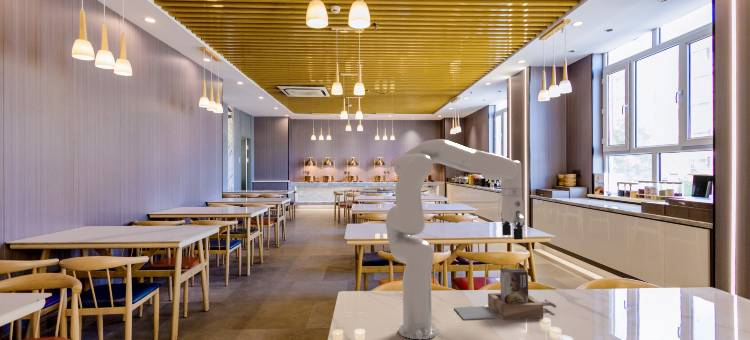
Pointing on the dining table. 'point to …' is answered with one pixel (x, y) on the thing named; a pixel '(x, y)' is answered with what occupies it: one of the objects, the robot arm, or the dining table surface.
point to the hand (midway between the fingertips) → (512, 237)
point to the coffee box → (514, 285)
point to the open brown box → (517, 307)
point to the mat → (474, 313)
